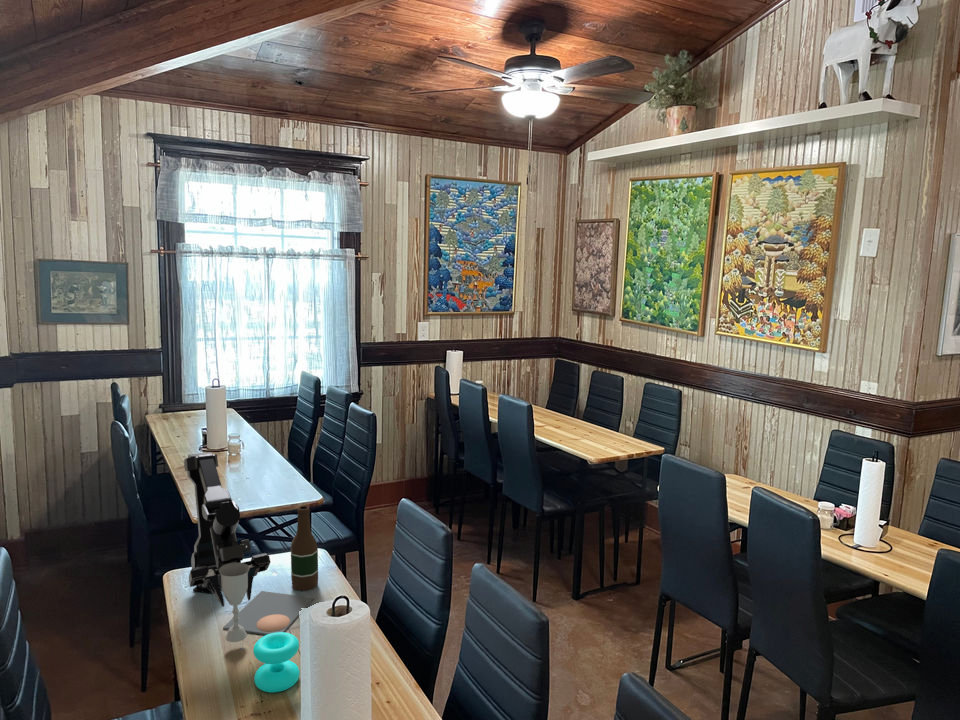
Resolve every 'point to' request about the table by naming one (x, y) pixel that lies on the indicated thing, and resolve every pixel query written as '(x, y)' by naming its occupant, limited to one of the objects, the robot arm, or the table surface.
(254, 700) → the table surface
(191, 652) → the table surface
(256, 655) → the turquoise spool
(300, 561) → the beer bottle
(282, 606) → the mat
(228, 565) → the chalice
